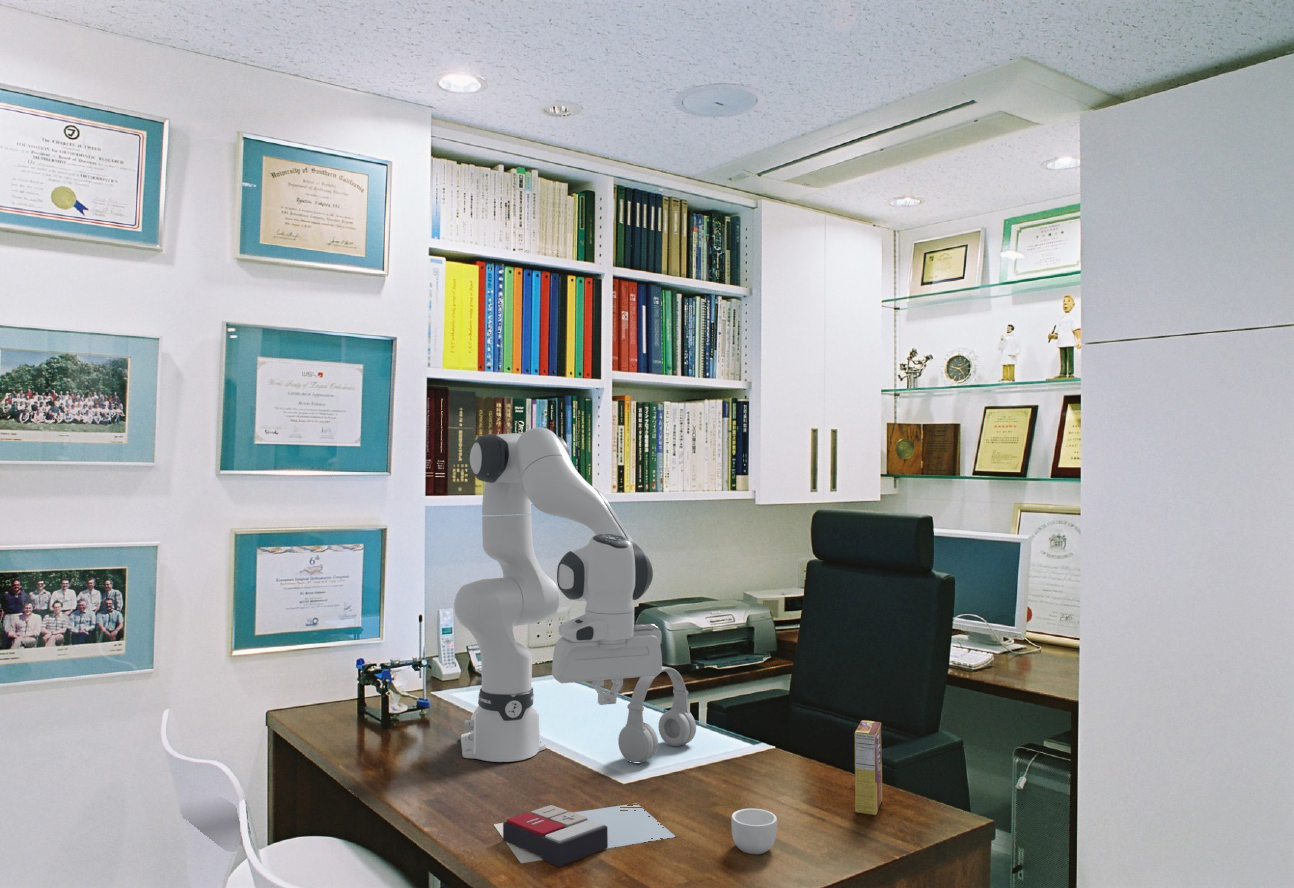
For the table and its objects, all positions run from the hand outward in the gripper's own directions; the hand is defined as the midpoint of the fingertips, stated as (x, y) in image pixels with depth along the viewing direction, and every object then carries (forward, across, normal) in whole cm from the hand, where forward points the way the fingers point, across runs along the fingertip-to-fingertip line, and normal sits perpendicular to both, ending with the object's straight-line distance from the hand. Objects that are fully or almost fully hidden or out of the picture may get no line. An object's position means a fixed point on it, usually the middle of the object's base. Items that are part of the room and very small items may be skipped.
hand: (607, 703), depth 164 cm
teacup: (+22, -21, +17) cm, 35 cm away
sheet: (+22, +4, 0) cm, 22 cm away
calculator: (+22, +10, +4) cm, 25 cm away
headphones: (+23, -27, -35) cm, 49 cm away
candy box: (+22, -51, +9) cm, 56 cm away
